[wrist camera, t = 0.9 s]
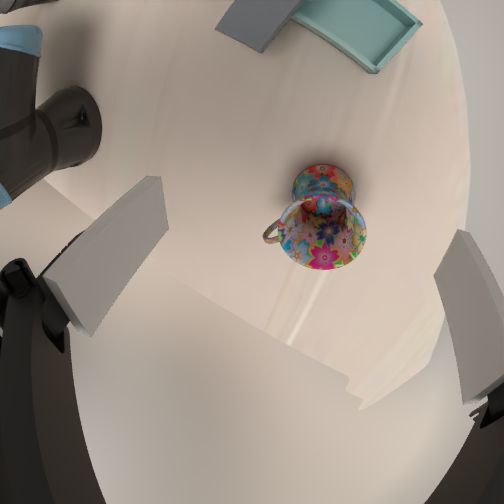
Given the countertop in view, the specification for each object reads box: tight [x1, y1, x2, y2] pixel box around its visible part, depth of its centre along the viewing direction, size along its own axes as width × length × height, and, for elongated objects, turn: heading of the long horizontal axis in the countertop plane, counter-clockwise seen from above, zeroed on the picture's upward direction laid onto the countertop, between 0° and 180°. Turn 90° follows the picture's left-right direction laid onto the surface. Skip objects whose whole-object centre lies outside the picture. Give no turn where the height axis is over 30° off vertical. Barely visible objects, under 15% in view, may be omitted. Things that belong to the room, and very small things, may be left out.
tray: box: [290, 0, 423, 74], centre depth 18 cm, size 12×9×4 cm
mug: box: [263, 165, 366, 270], centre depth 32 cm, size 12×9×11 cm
